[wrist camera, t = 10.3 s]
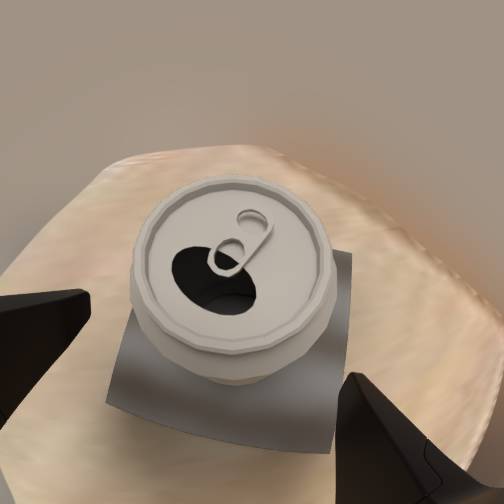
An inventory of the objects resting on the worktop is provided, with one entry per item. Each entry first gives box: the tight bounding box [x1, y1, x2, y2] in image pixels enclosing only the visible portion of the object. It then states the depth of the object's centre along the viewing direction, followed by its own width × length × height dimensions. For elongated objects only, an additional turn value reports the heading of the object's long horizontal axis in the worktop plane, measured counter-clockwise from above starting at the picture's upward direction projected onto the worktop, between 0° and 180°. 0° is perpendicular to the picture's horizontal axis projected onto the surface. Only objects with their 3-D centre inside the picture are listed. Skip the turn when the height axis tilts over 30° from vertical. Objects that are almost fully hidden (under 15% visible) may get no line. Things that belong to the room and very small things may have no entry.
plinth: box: [106, 249, 352, 454], centre depth 20 cm, size 16×16×3 cm
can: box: [130, 174, 337, 386], centre depth 13 cm, size 8×8×12 cm
